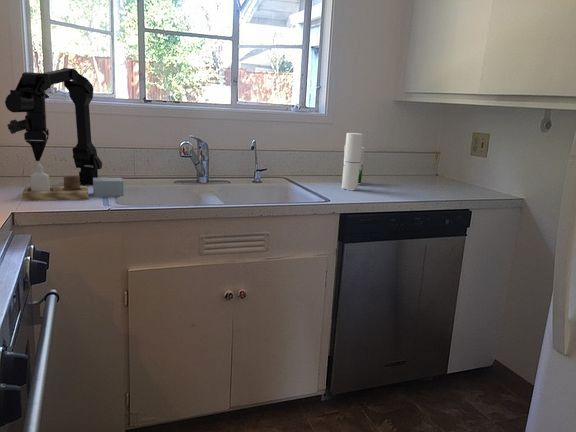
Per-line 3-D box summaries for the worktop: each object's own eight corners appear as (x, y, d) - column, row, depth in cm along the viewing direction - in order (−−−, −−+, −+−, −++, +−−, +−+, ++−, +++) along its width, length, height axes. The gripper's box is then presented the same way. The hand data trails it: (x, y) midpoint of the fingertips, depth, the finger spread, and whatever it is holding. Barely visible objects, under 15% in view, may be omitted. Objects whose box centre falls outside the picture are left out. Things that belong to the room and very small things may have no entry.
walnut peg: (80, 195, 175) (79, 175, 174) (80, 197, 172) (79, 177, 171) (64, 195, 173) (63, 175, 172) (64, 197, 170) (63, 177, 169)
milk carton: (339, 181, 241) (343, 140, 237) (356, 182, 244) (360, 141, 239) (345, 184, 233) (349, 142, 228) (363, 185, 235) (367, 143, 231)
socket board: (87, 192, 180) (87, 185, 179) (88, 199, 169) (87, 192, 169) (26, 193, 172) (25, 186, 172) (22, 200, 162) (22, 193, 161)
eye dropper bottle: (40, 194, 172) (38, 160, 169) (52, 196, 170) (50, 162, 167) (29, 196, 168) (27, 161, 165) (41, 198, 166) (39, 163, 163)
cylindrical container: (350, 191, 218) (355, 134, 212) (338, 188, 223) (343, 132, 217) (360, 190, 222) (366, 134, 216) (348, 187, 227) (354, 132, 221)
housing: (122, 192, 184) (121, 177, 183) (123, 196, 178) (123, 181, 177) (93, 192, 180) (92, 177, 179) (94, 196, 174) (93, 181, 173)
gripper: (11, 109, 167) (14, 155, 171) (4, 112, 151) (7, 162, 154) (48, 111, 172) (50, 155, 175) (44, 114, 155) (47, 163, 159)
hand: (38, 159), depth 166 cm, fingers open, 9 cm apart
